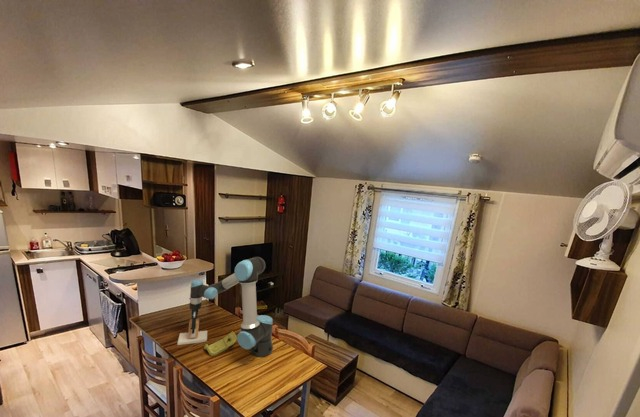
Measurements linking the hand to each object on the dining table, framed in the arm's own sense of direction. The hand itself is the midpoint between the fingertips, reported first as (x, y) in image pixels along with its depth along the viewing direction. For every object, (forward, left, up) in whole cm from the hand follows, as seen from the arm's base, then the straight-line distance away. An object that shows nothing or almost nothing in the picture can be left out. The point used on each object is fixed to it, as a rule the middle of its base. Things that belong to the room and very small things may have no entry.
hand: (193, 334), depth 182 cm
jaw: (0, 0, -1) cm, 1 cm away
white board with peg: (0, 0, -3) cm, 3 cm away
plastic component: (-16, -18, -4) cm, 24 cm away
